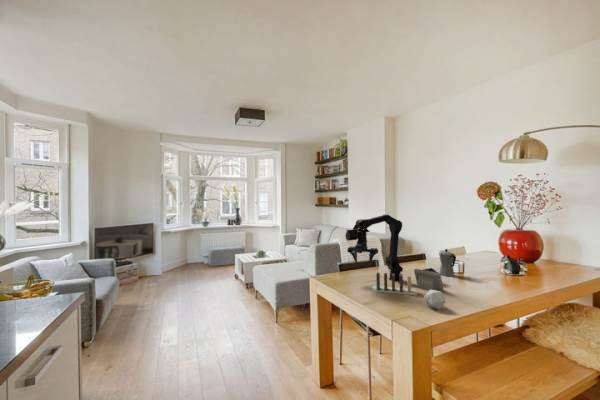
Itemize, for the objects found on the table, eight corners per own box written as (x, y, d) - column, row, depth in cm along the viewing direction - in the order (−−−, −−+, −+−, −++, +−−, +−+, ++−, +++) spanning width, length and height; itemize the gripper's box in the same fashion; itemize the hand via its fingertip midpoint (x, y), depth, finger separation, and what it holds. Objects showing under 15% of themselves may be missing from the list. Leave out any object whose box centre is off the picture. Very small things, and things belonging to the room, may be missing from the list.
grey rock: (423, 304, 139) (419, 292, 135) (437, 295, 140) (433, 282, 136) (435, 316, 132) (431, 303, 127) (450, 306, 132) (447, 293, 128)
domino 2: (387, 288, 163) (387, 273, 163) (387, 290, 158) (386, 275, 158) (384, 287, 163) (384, 272, 163) (384, 290, 158) (384, 275, 158)
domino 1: (379, 287, 164) (379, 272, 164) (379, 290, 159) (379, 274, 159) (377, 287, 165) (376, 272, 165) (376, 289, 160) (376, 274, 160)
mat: (415, 289, 160) (414, 289, 160) (416, 295, 151) (416, 294, 151) (372, 286, 168) (372, 285, 168) (371, 291, 158) (371, 290, 158)
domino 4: (402, 289, 160) (402, 274, 160) (403, 292, 155) (402, 276, 155) (399, 289, 160) (399, 273, 160) (400, 291, 156) (399, 276, 156)
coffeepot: (434, 272, 195) (434, 247, 196) (446, 271, 197) (445, 247, 197) (449, 278, 180) (449, 251, 180) (462, 277, 182) (461, 251, 182)
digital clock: (445, 291, 157) (445, 272, 157) (434, 293, 153) (434, 274, 153) (421, 283, 171) (421, 266, 171) (411, 285, 168) (411, 268, 168)
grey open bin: (416, 279, 184) (415, 264, 183) (438, 278, 179) (437, 264, 179) (418, 286, 171) (416, 271, 171) (442, 286, 167) (440, 270, 166)
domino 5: (410, 290, 159) (410, 274, 159) (411, 292, 154) (410, 277, 154) (407, 289, 159) (407, 274, 159) (408, 292, 154) (407, 276, 154)
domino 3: (394, 288, 161) (394, 273, 161) (395, 291, 157) (394, 275, 157) (392, 288, 162) (391, 273, 162) (392, 291, 157) (391, 275, 157)
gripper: (343, 240, 172) (344, 265, 172) (372, 242, 162) (373, 268, 162) (350, 238, 181) (351, 261, 181) (378, 239, 171) (379, 264, 171)
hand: (363, 263), depth 174 cm, fingers open, 9 cm apart
